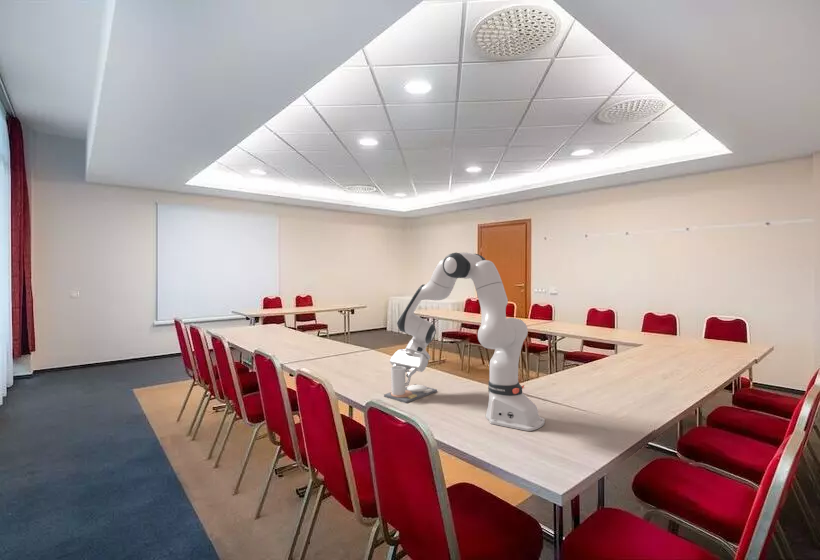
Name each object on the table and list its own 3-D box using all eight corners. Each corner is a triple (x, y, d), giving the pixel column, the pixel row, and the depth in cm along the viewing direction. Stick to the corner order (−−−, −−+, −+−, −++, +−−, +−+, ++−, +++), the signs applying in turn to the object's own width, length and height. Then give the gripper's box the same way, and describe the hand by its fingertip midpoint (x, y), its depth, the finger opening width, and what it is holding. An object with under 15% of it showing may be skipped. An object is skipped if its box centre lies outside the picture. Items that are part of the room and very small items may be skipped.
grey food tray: (437, 391, 191) (437, 387, 190) (406, 403, 174) (406, 399, 174) (415, 386, 200) (415, 382, 200) (384, 396, 184) (384, 392, 184)
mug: (395, 396, 179) (395, 370, 178) (388, 392, 184) (388, 367, 184) (414, 392, 184) (414, 367, 184) (407, 389, 189) (406, 364, 189)
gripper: (395, 344, 195) (381, 368, 188) (427, 349, 182) (413, 375, 175) (401, 352, 199) (388, 375, 192) (433, 357, 185) (419, 383, 178)
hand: (400, 375), depth 183 cm, fingers open, 8 cm apart
